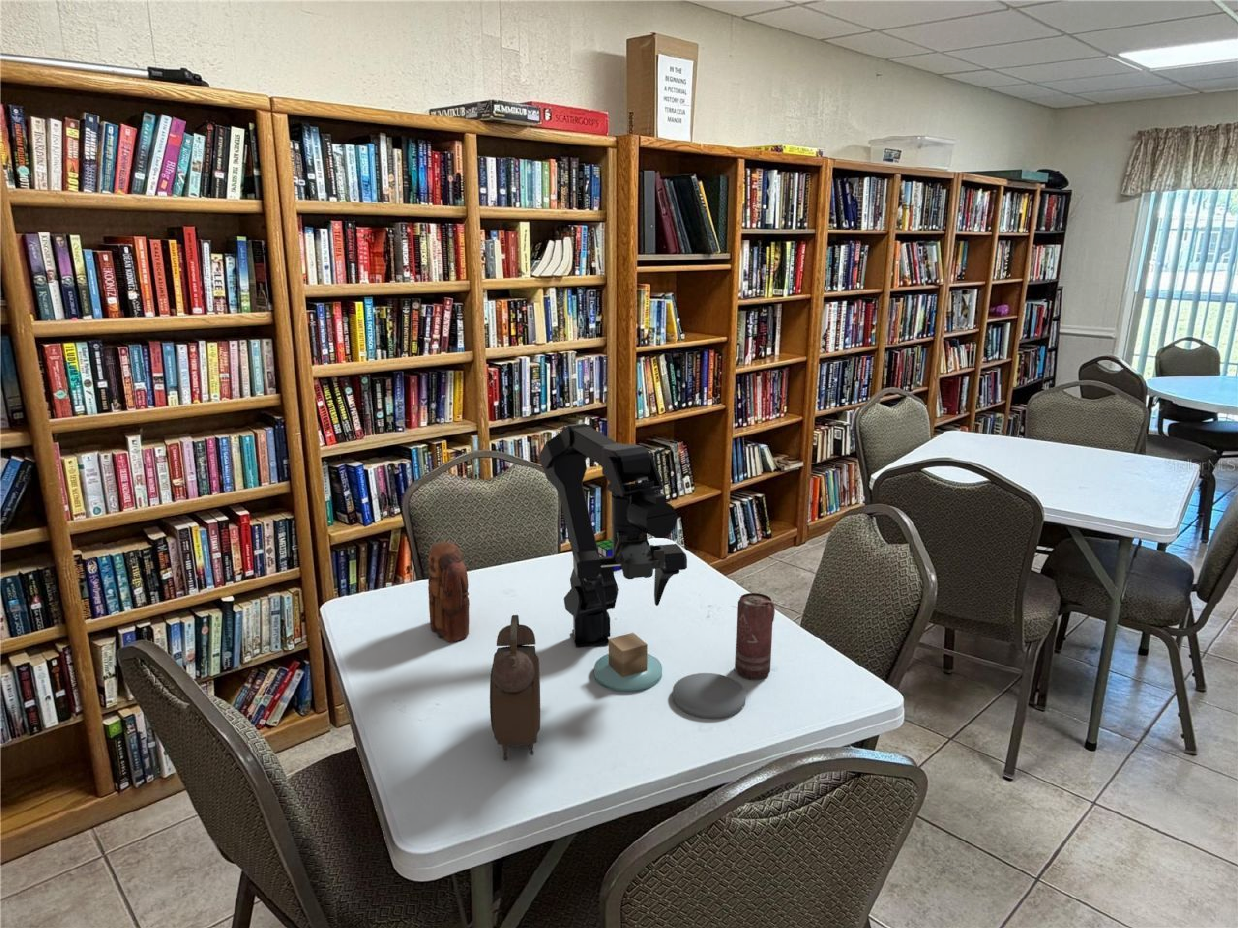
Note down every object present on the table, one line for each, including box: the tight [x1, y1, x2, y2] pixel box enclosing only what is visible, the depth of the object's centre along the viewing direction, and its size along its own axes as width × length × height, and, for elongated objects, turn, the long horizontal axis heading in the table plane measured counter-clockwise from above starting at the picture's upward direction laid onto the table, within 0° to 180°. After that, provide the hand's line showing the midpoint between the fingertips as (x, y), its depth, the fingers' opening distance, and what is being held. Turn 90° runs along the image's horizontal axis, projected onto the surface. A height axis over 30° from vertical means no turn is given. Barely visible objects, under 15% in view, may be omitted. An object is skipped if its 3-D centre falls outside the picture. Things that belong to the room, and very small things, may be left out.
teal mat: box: [593, 653, 663, 693], centre depth 137 cm, size 12×12×1 cm
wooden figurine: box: [427, 541, 471, 643], centre depth 151 cm, size 12×6×18 cm, turn 35°
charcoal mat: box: [672, 672, 747, 720], centre depth 129 cm, size 12×12×1 cm
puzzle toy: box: [596, 538, 622, 572], centre depth 184 cm, size 6×6×6 cm
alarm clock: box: [489, 614, 541, 761], centre depth 115 cm, size 15×7×20 cm, turn 5°
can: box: [734, 592, 775, 681], centre depth 136 cm, size 6×6×14 cm
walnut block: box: [608, 632, 648, 677], centre depth 136 cm, size 5×5×5 cm
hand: (630, 607), depth 134 cm, fingers open, 9 cm apart
